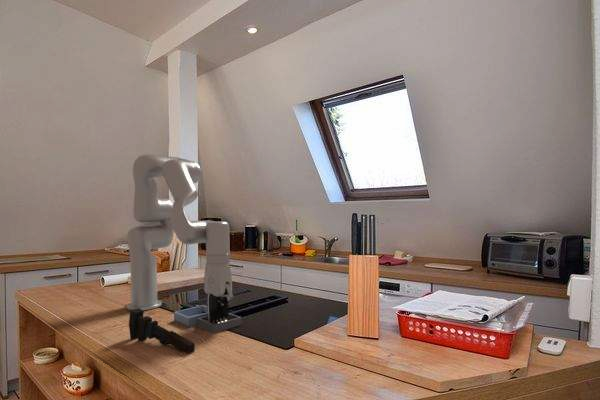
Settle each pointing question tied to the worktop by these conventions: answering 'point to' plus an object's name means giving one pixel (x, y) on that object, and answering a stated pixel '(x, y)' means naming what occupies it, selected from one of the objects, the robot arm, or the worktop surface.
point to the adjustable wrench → (156, 332)
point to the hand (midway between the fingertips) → (219, 315)
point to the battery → (214, 309)
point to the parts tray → (190, 315)
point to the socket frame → (232, 322)
